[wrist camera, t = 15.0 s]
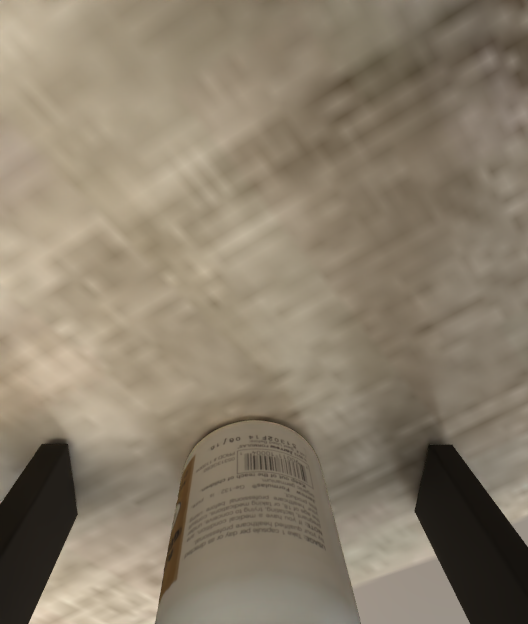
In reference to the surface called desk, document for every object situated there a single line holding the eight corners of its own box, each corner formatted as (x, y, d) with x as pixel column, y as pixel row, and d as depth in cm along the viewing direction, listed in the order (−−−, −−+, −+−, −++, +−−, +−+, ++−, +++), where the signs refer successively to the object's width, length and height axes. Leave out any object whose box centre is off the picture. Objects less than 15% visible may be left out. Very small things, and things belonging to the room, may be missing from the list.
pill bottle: (156, 450, 13) (51, 823, 6) (285, 393, 12) (349, 720, 5) (222, 542, 14) (205, 933, 7) (339, 494, 14) (448, 859, 7)
